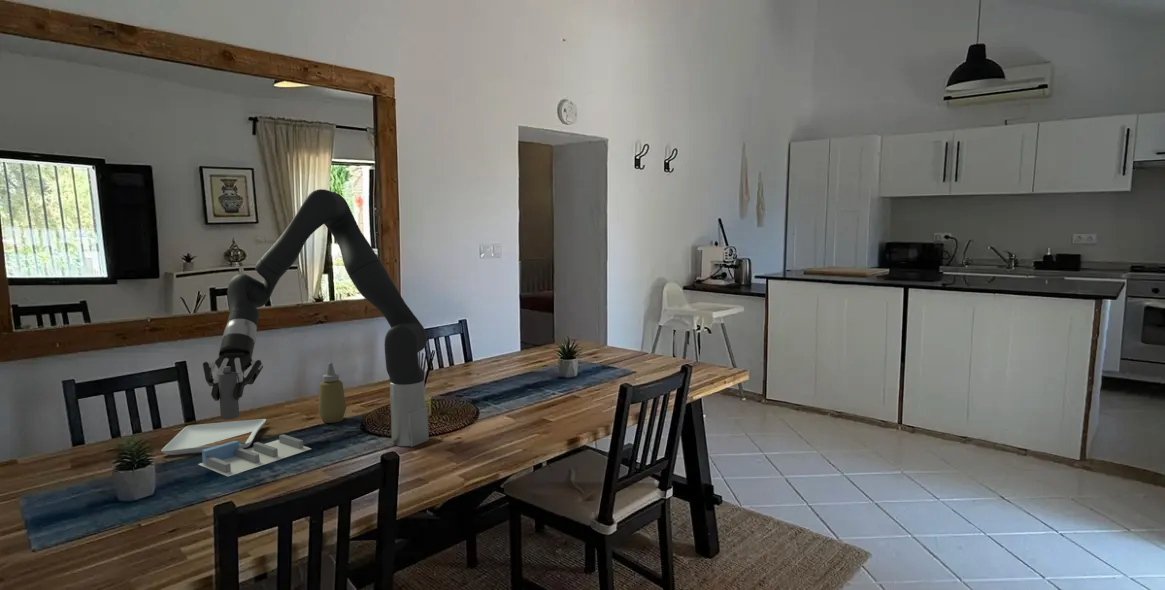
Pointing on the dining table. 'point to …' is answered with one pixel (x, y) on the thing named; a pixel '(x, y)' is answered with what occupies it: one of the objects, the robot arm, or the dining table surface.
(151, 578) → the dining table surface
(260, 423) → the salad plate
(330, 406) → the squeeze bottle
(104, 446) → the dining table surface
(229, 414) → the dark grey bottle
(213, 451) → the divider rack
